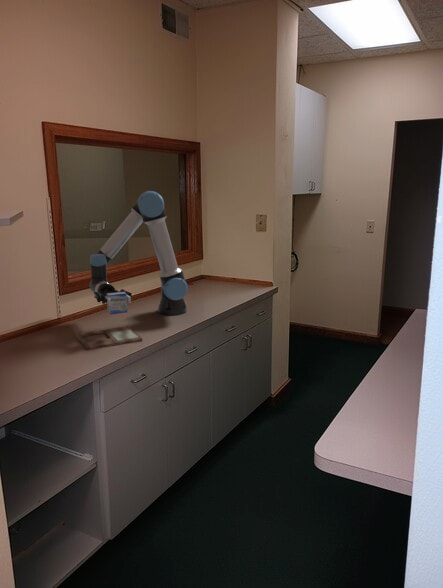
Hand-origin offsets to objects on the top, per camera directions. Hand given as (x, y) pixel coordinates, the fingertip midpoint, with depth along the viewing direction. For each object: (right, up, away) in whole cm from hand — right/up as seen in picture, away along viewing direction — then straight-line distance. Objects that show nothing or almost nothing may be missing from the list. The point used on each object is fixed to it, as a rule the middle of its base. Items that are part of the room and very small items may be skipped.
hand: (120, 301), depth 200 cm
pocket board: (-7, -16, +7) cm, 19 cm away
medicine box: (-2, -5, +6) cm, 8 cm away
